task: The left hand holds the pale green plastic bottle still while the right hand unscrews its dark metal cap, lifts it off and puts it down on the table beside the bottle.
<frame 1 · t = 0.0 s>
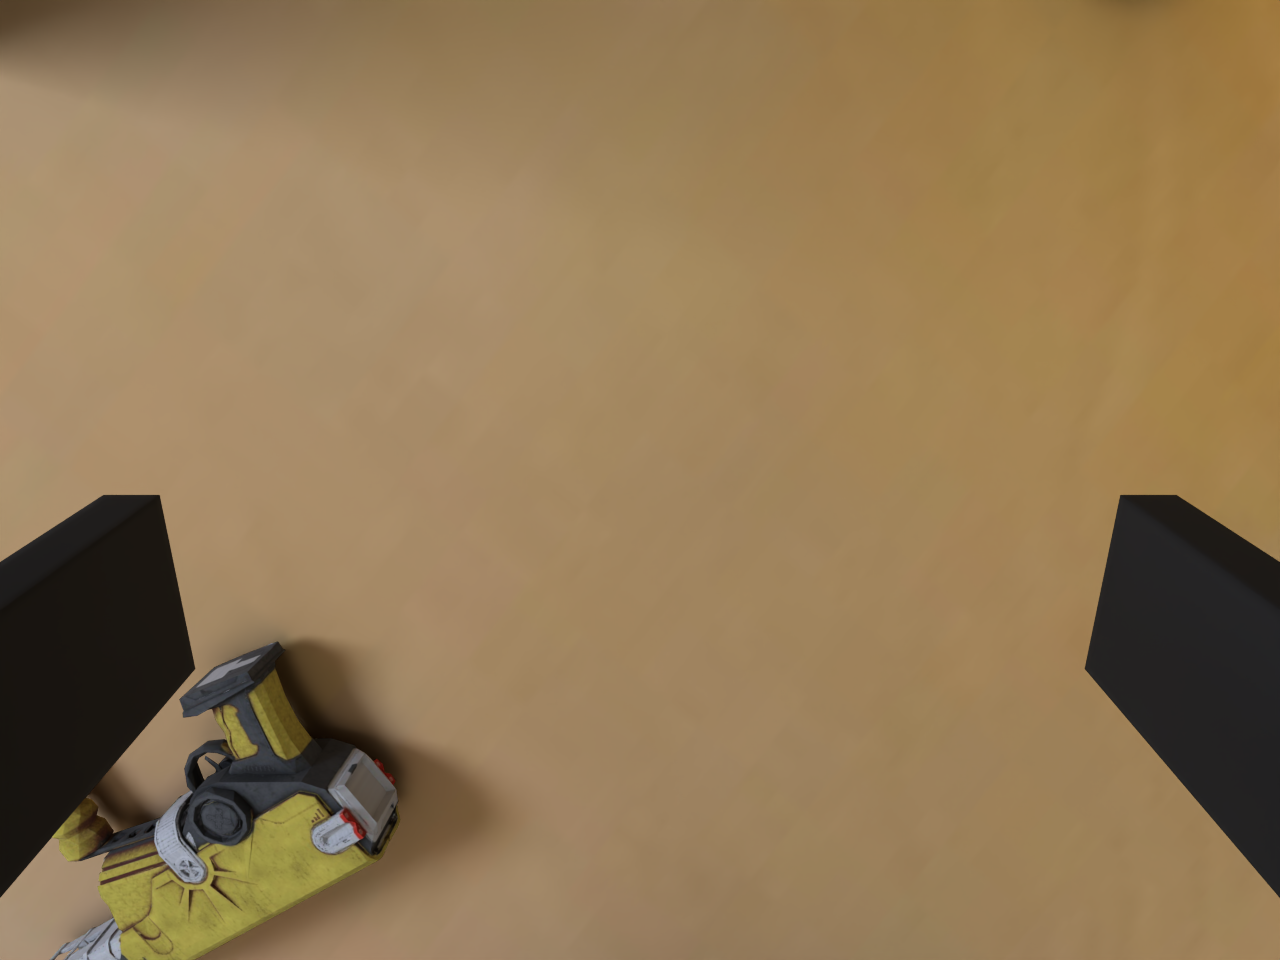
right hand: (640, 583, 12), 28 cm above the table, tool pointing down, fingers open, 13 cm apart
toy gun: (167, 793, 48), on the table
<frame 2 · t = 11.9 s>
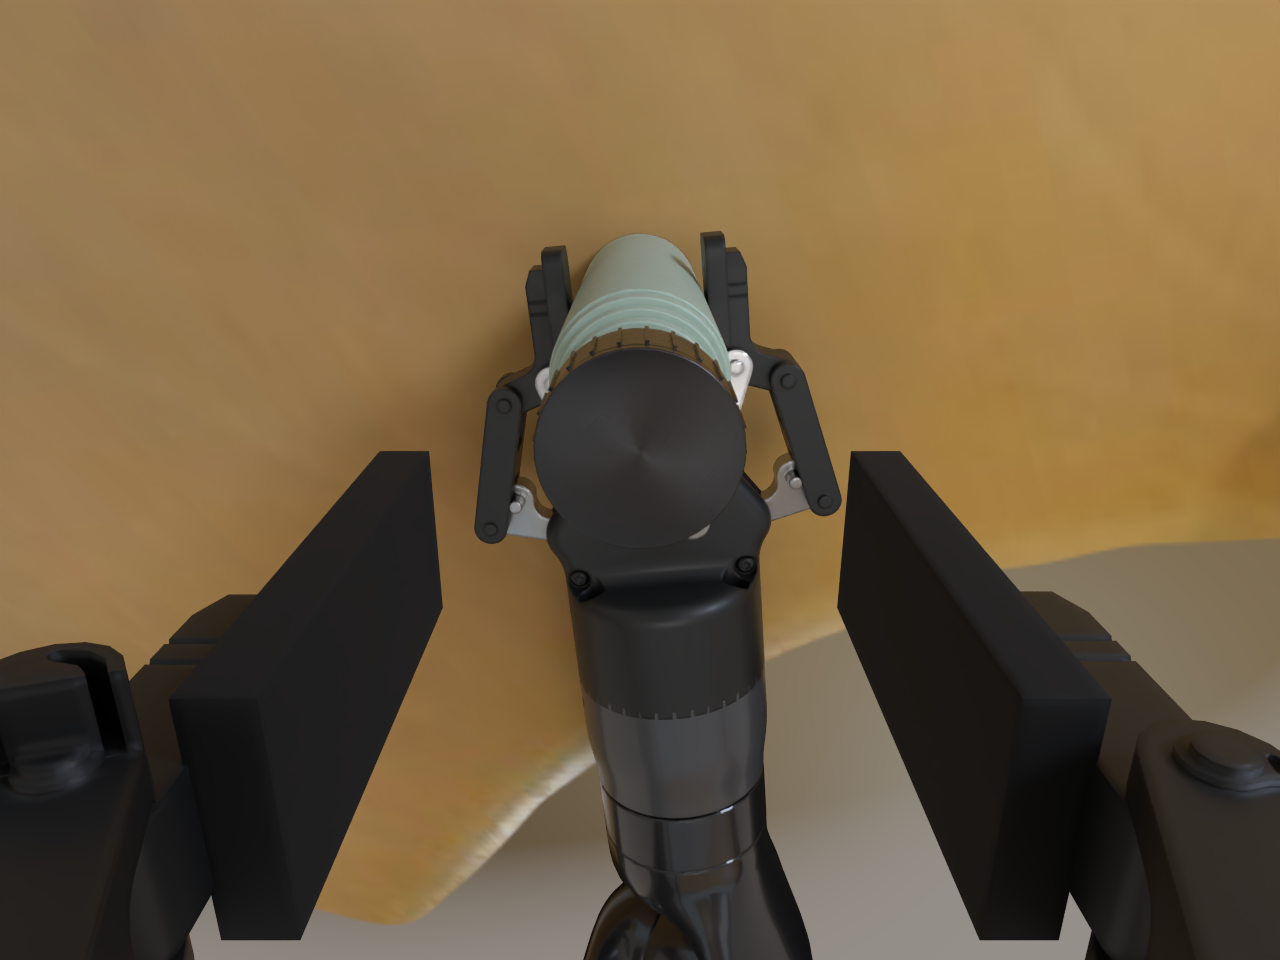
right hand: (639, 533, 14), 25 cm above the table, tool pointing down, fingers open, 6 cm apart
bottle: (639, 292, 37), on the table, touching left hand
cap: (640, 448, 18), point 21 cm above the table, screwed on, not yet turned
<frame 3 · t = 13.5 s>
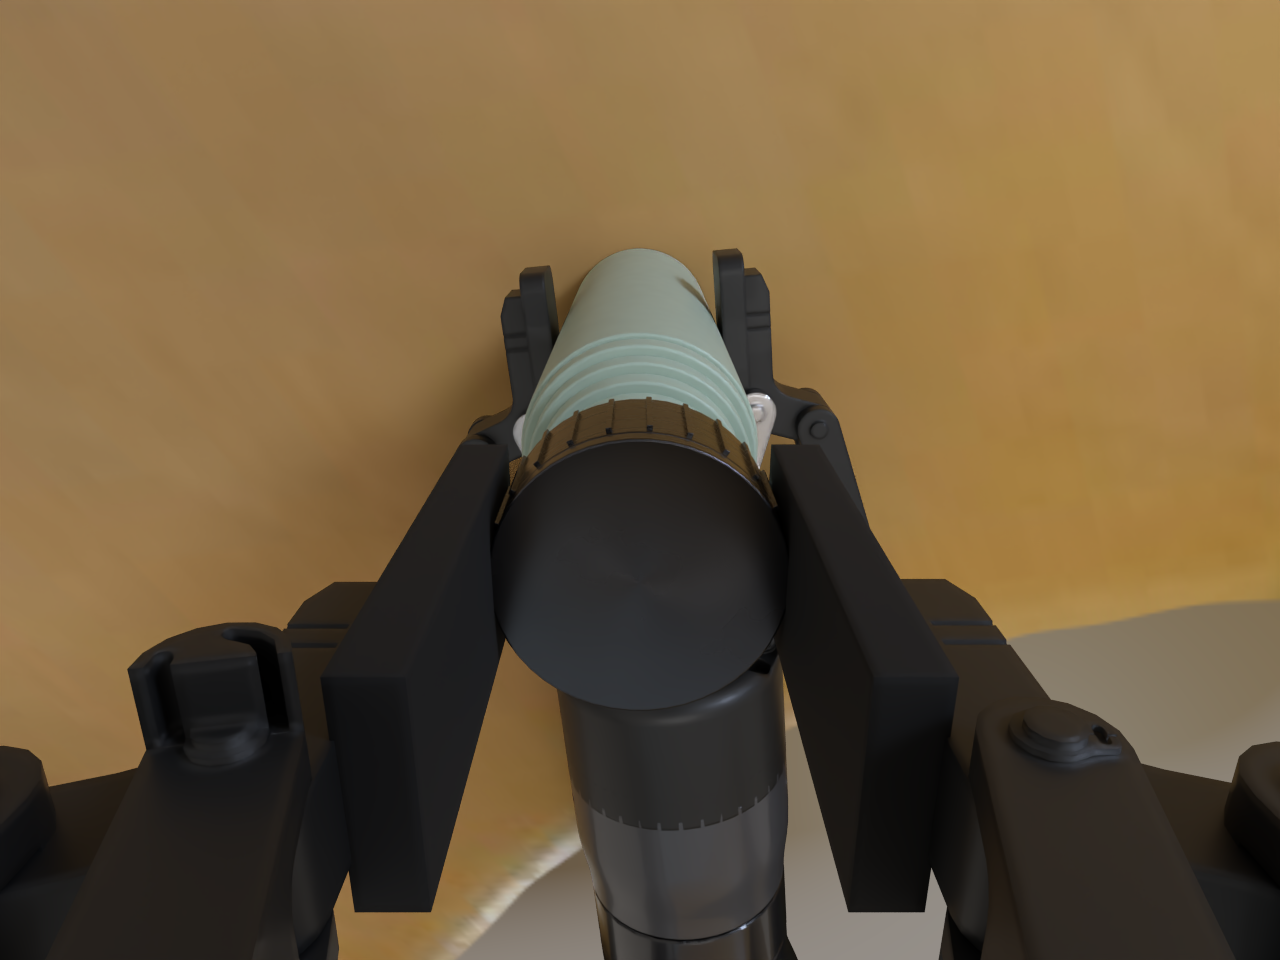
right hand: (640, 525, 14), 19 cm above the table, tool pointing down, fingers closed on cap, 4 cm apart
bottle: (639, 316, 32), on the table, touching left hand
cap: (639, 573, 13), point 21 cm above the table, screwed on, not yet turned, touching right hand
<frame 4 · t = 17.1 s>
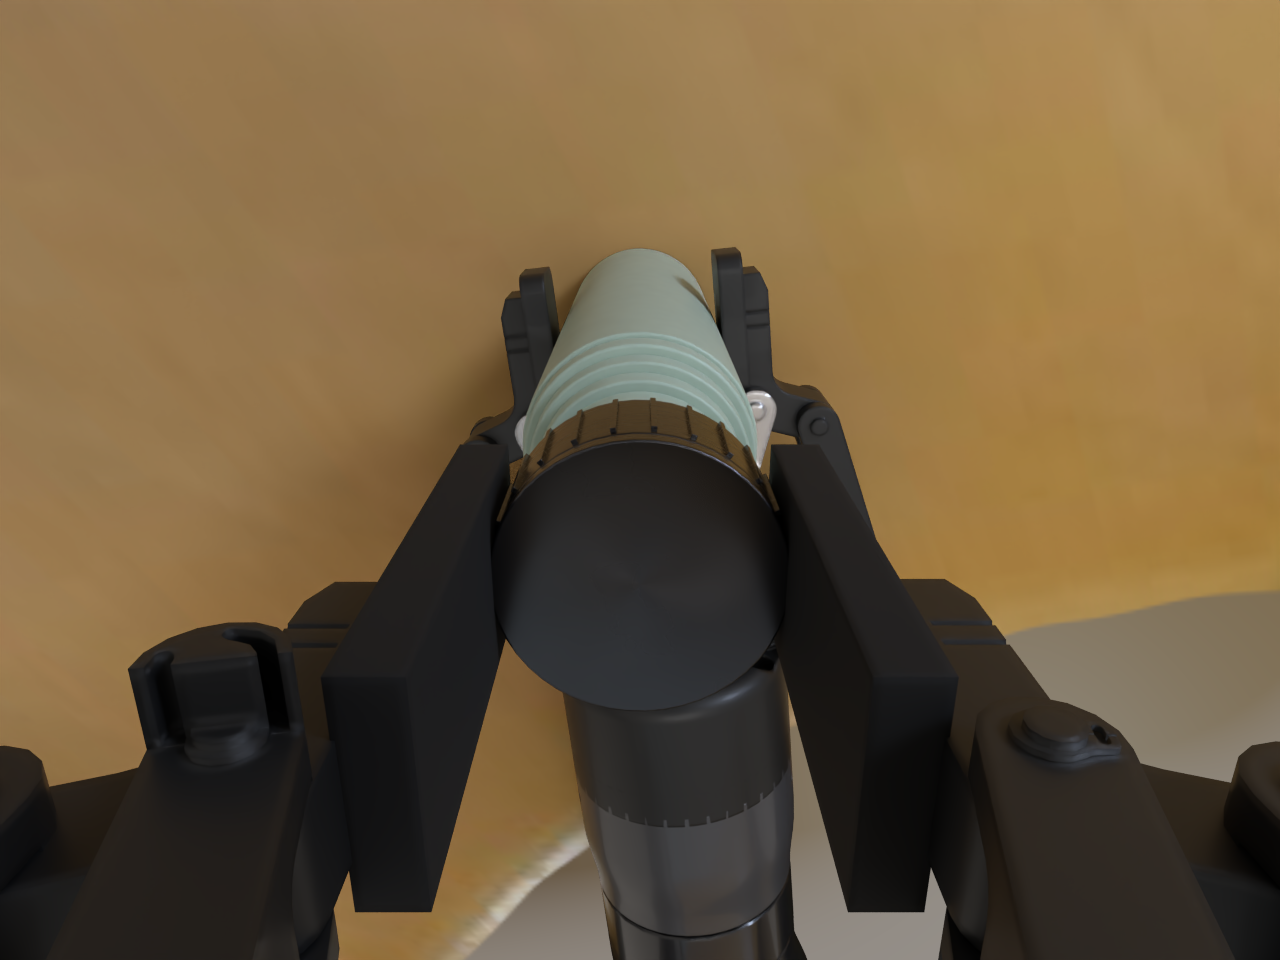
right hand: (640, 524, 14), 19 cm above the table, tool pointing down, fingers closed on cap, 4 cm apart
bottle: (639, 315, 32), on the table, touching left hand
cap: (640, 574, 13), point 21 cm above the table, turned 133° so far, risen 0.1 cm, still on its thread, touching right hand
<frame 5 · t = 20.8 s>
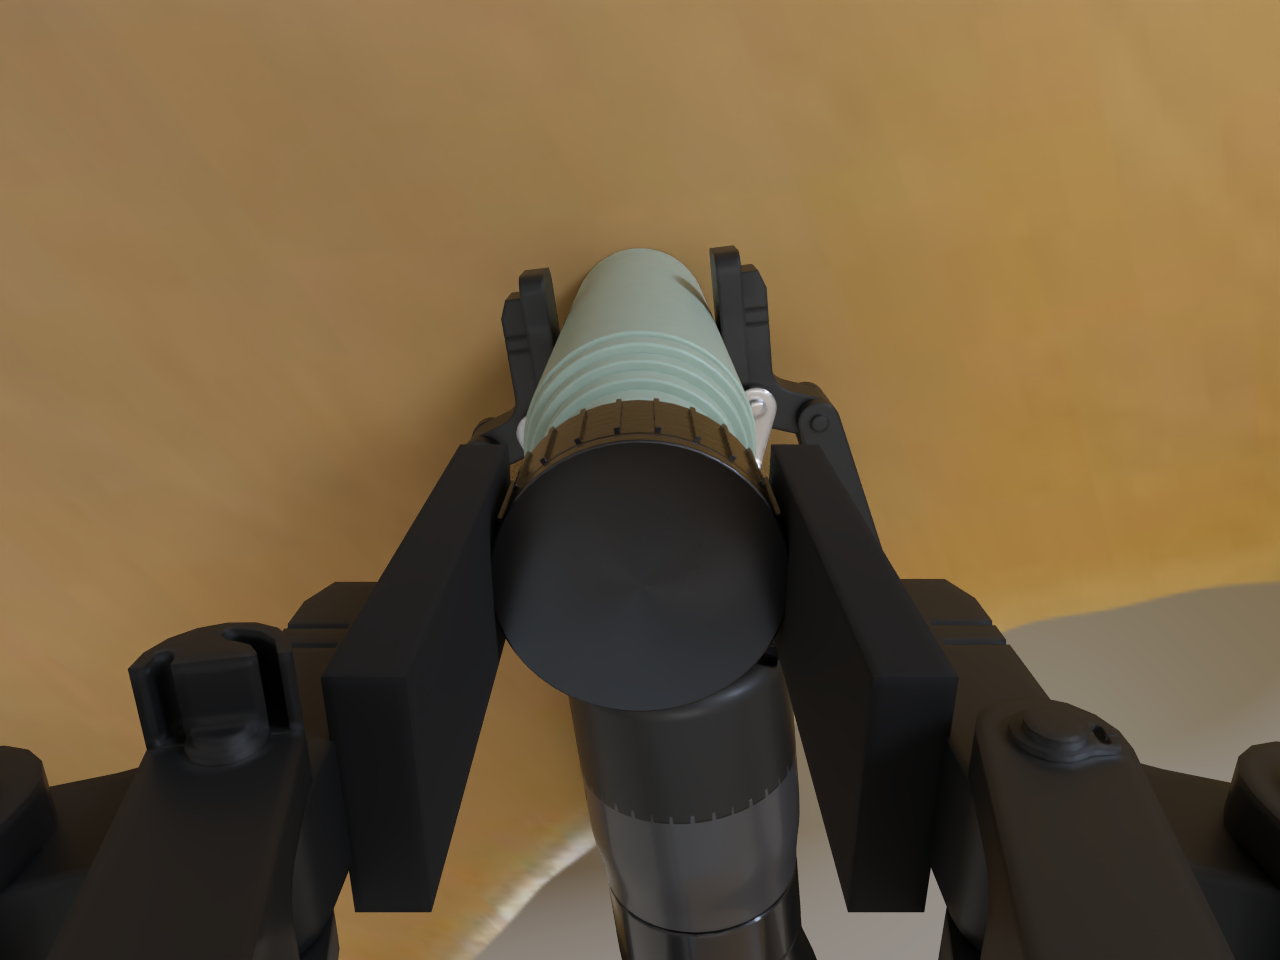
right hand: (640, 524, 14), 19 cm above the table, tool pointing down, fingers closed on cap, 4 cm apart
bottle: (639, 315, 32), on the table, touching left hand
cap: (640, 574, 13), point 21 cm above the table, turned 266° so far, risen 0.3 cm, still on its thread, touching right hand
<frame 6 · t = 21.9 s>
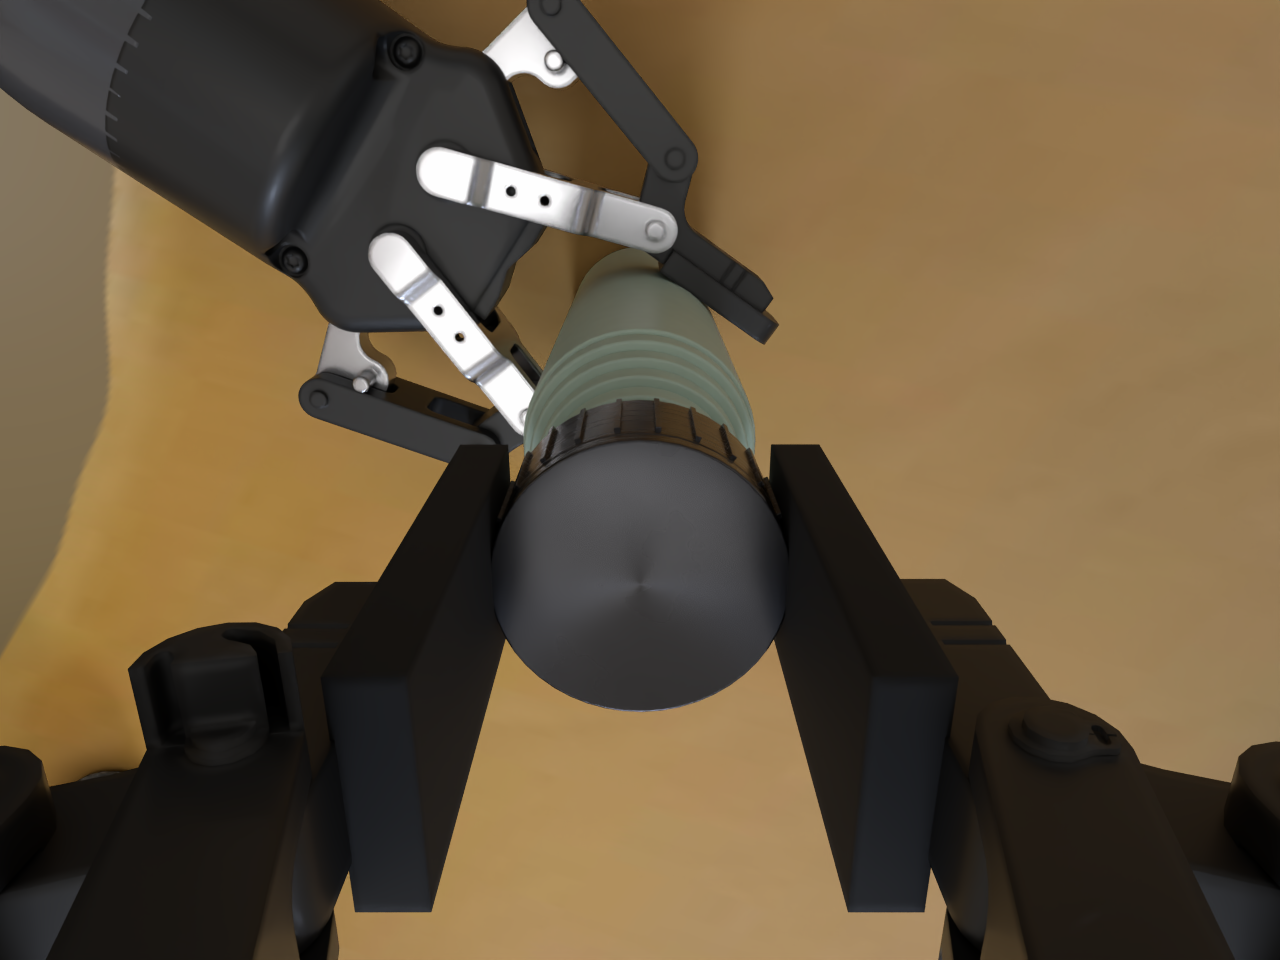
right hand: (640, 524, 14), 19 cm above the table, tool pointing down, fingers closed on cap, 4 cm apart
bottle: (639, 313, 32), on the table, touching left hand
cap: (640, 574, 13), point 21 cm above the table, off its thread, touching right hand
when the right hand's fingers open (1 cm above the table, at t = 27.9 s): cap drops 1 cm, point 2 cm above the table.
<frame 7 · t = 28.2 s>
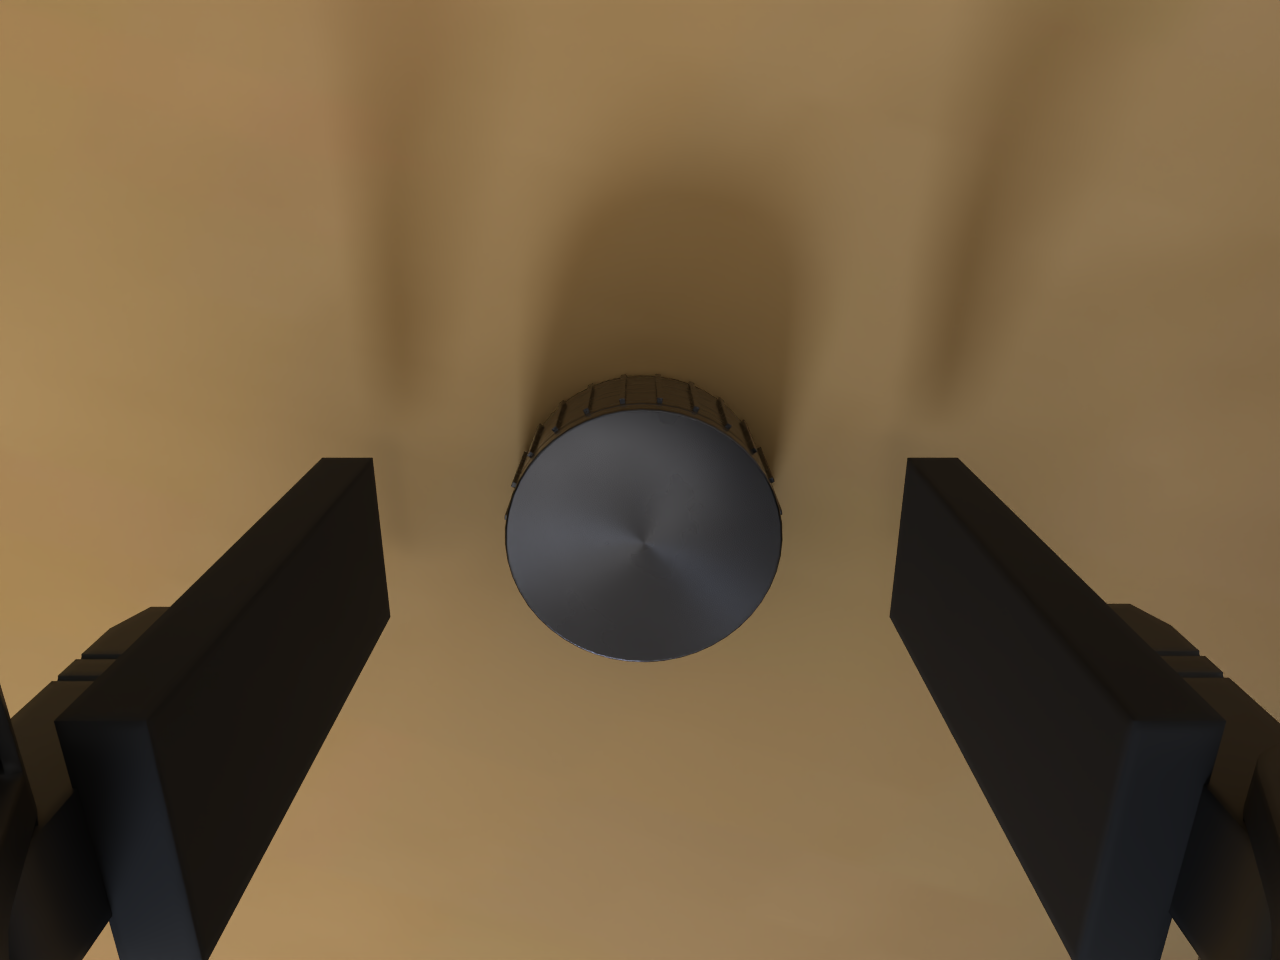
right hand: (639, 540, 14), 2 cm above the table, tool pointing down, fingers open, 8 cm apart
cap: (643, 534, 14), point 2 cm above the table, off its thread
when the left hand's fingers open (7 cm above the table, at t = 29.2 s): bottle stays where it is, on the table.
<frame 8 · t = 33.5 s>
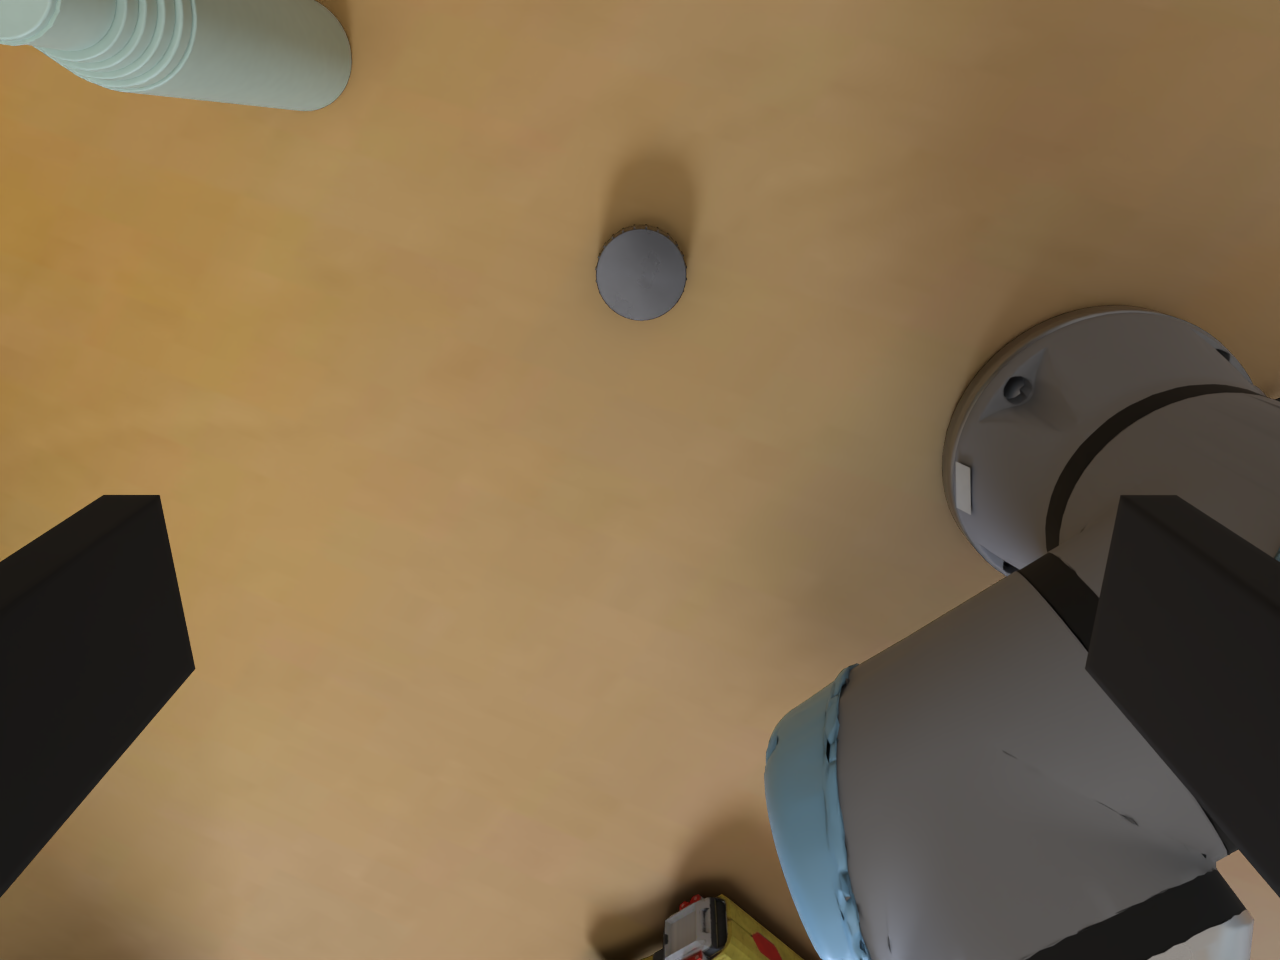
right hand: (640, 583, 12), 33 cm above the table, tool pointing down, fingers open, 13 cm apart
bottle: (299, 54, 40), on the table
cap: (641, 274, 42), point 2 cm above the table, off its thread
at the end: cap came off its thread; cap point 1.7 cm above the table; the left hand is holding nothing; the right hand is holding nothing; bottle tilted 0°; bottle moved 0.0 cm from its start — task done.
